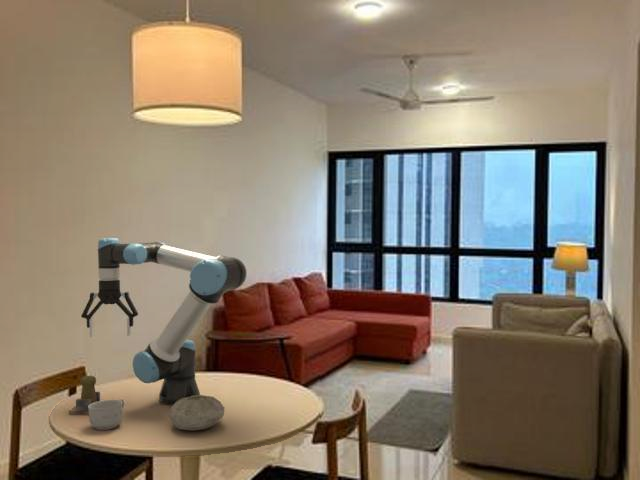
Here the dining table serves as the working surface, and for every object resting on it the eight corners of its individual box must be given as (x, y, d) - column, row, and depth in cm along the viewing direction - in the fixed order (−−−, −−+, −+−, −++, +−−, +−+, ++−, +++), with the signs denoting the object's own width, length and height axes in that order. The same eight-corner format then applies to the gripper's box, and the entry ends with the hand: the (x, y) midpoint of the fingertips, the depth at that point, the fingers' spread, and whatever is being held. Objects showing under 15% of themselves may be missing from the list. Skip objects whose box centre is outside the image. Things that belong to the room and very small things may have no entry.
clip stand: (106, 405, 229) (106, 391, 229) (97, 414, 219) (97, 400, 219) (79, 405, 229) (79, 391, 229) (68, 414, 219) (68, 399, 218)
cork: (100, 406, 224) (100, 376, 224) (84, 410, 220) (84, 379, 219) (92, 403, 228) (92, 373, 228) (76, 406, 224) (76, 376, 223)
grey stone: (170, 419, 215) (170, 390, 214) (222, 416, 219) (222, 388, 218) (169, 437, 197) (169, 406, 197) (226, 434, 201) (226, 403, 201)
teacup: (103, 435, 199) (102, 410, 199) (81, 428, 205) (81, 404, 204) (137, 423, 211) (136, 399, 211) (115, 417, 217) (115, 394, 216)
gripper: (145, 277, 239) (146, 333, 239) (77, 279, 236) (78, 334, 237) (141, 279, 231) (142, 336, 232) (71, 281, 229) (73, 338, 229)
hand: (110, 335), depth 234 cm, fingers open, 13 cm apart
